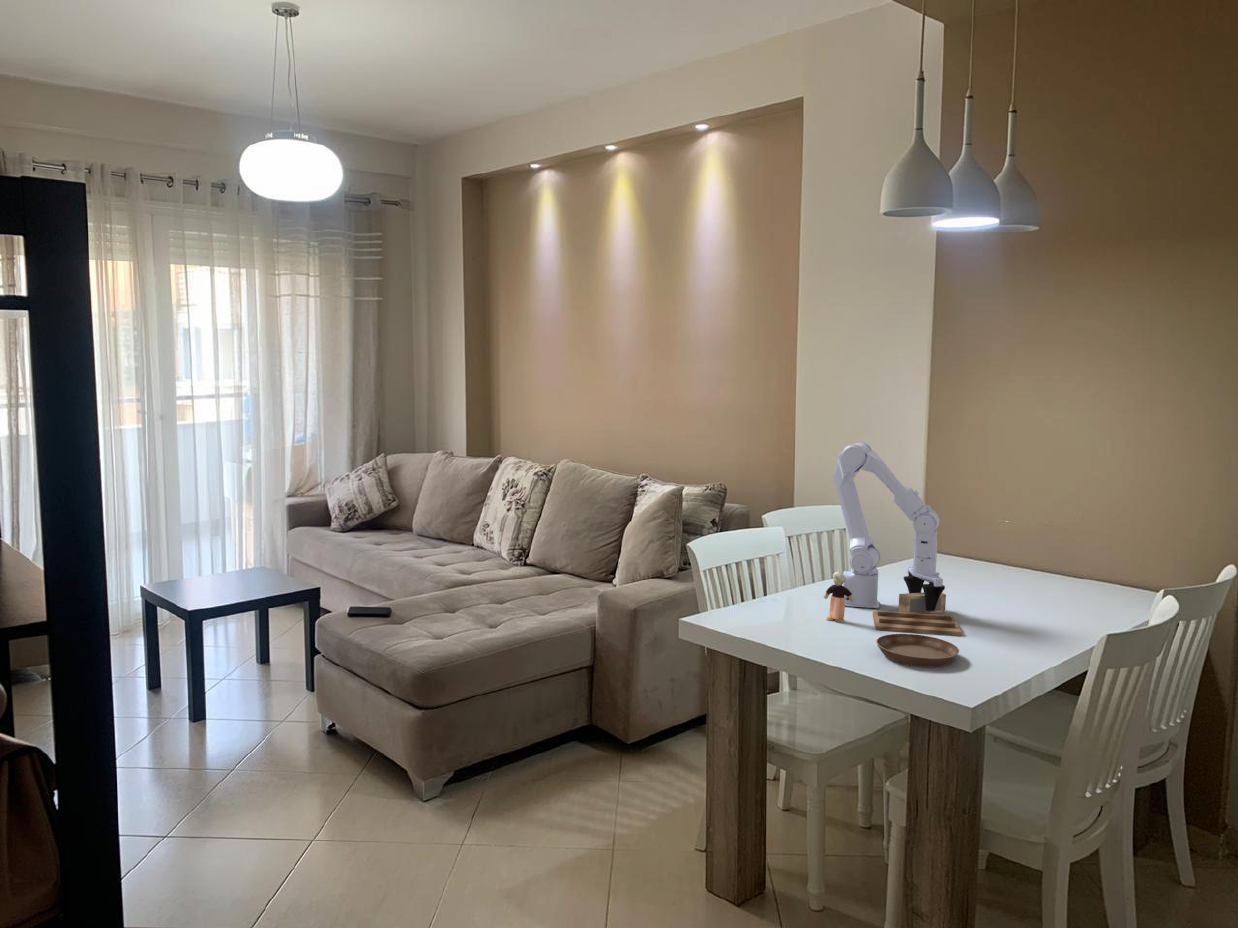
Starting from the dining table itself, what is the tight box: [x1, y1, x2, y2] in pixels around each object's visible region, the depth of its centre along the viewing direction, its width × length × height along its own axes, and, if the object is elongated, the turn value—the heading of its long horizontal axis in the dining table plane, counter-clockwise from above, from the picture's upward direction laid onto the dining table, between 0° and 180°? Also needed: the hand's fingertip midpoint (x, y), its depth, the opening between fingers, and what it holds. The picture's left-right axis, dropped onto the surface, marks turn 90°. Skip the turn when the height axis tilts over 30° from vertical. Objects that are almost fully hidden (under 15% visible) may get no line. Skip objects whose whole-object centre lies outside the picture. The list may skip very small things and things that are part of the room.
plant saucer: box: [875, 633, 960, 668], centre depth 204 cm, size 18×18×3 cm
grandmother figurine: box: [823, 571, 854, 623], centre depth 231 cm, size 8×4×13 cm, turn 68°
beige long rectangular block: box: [897, 592, 947, 614], centre depth 241 cm, size 12×3×5 cm, turn 104°
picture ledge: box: [872, 610, 962, 637], centre depth 229 cm, size 20×14×2 cm
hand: (922, 606), depth 241 cm, fingers open, 7 cm apart
